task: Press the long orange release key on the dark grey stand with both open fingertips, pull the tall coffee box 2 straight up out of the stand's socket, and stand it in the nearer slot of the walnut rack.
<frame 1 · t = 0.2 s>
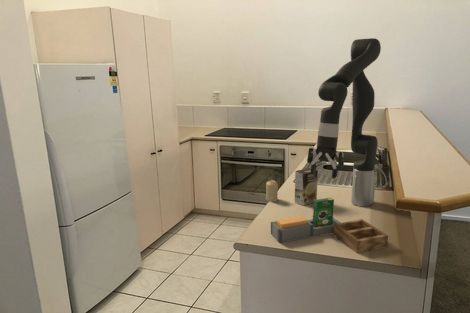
hand: (323, 176, 139), 23 cm above the worktop, tool pointing down, fingers open, 8 cm apart
coffee box: (305, 202, 173), on the worktop
release key: (291, 225, 139), point 4 cm above the worktop, slide at 0.0 cm
coffee box 2: (322, 230, 144), resting in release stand
walnut rack: (359, 240, 134), on the worktop
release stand: (322, 229, 144), on the worktop
candle: (271, 200, 178), on the worktop
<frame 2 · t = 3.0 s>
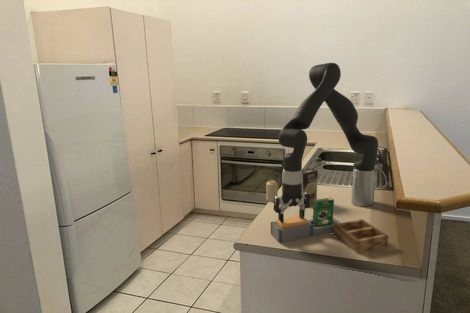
hand: (291, 220, 139), 6 cm above the worktop, tool pointing down
release key: (291, 225, 139), point 4 cm above the worktop, slide at 0.0 cm, touching gripper
everything else where it was.
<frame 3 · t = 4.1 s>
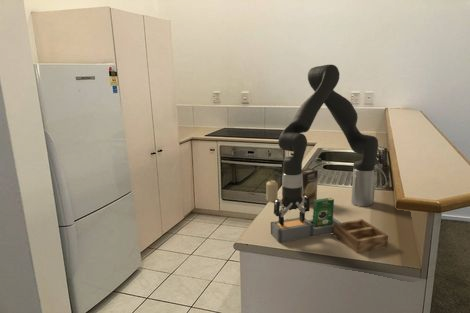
hand: (291, 223, 139), 5 cm above the worktop, tool pointing down, fingers open, 8 cm apart
release key: (291, 228, 139), point 3 cm above the worktop, slide at 1.6 cm
everything else where it was.
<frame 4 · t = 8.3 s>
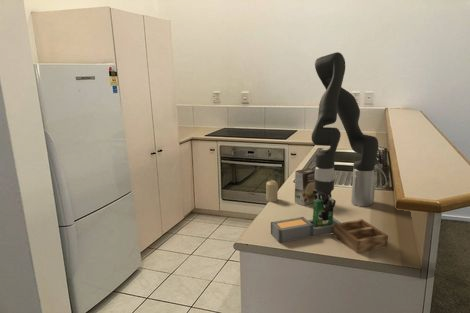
hand: (322, 218, 143), 5 cm above the worktop, tool pointing down, fingers closed on coffee box 2, 3 cm apart
coffee box 2: (322, 229, 144), resting in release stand, touching gripper
everything else where it was.
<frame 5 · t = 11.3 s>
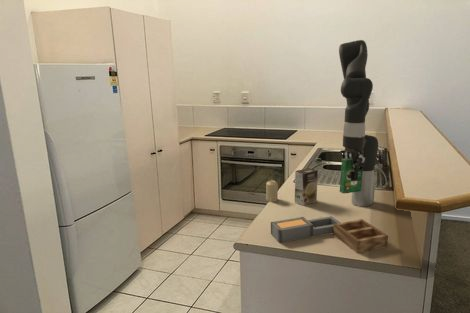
hand: (351, 179, 133), 23 cm above the worktop, tool pointing down, fingers closed on coffee box 2, 3 cm apart
coffee box 2: (350, 192, 134), point 18 cm above the worktop, touching gripper
everything else where it was.
when the fingers open (8 cm above the worktop, at t = 14.5 s): coffee box 2 drops 2 cm, resting on walnut rack.
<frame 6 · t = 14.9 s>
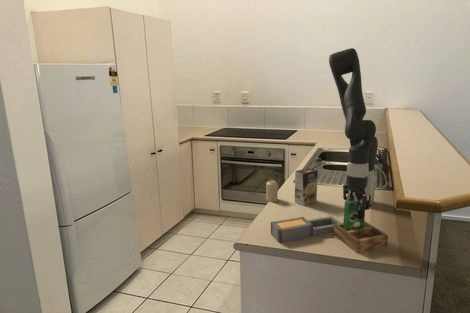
hand: (354, 215, 135), 9 cm above the worktop, tool pointing down, fingers open, 6 cm apart
coffee box 2: (353, 233, 137), point 1 cm above the worktop, touching walnut rack
everything else where it was.
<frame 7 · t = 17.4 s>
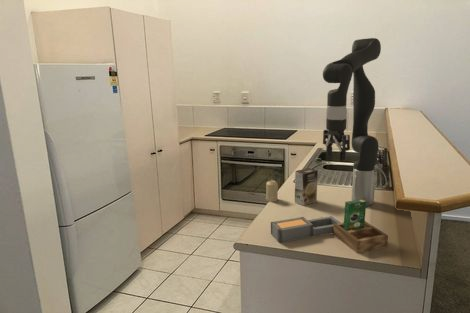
hand: (335, 158, 140), 29 cm above the worktop, tool pointing down, fingers open, 8 cm apart
nothing on the worktop moved.
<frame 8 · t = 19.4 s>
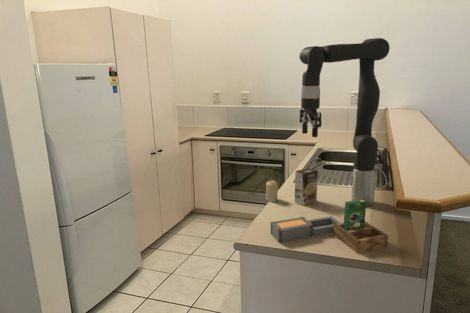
hand: (309, 135, 151), 36 cm above the worktop, tool pointing down, fingers open, 8 cm apart
nothing on the worktop moved.
at the end: release key slide at 1.6 cm; coffee box 2 0.2 cm from the target spot on the walnut rack, point 1.3 cm above the walnut rack's base; coffee box 2 tilted 0° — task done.
